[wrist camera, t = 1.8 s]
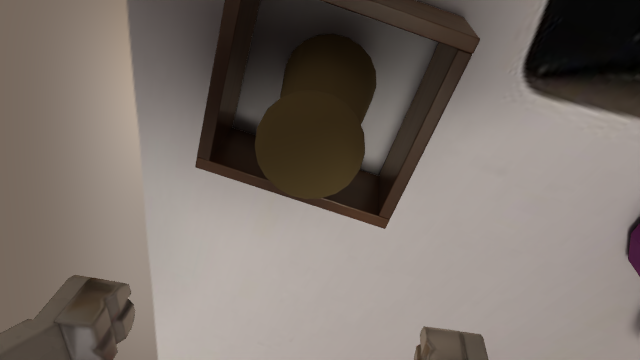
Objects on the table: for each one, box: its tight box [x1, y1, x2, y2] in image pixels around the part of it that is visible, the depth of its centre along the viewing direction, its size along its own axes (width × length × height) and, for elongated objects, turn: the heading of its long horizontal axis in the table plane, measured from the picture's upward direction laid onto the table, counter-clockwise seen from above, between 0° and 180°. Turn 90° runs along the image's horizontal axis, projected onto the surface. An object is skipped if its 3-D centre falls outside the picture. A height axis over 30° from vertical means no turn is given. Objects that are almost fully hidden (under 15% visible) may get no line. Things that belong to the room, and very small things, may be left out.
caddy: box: [196, 0, 480, 229], centre depth 27 cm, size 13×13×5 cm
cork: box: [255, 34, 376, 199], centre depth 24 cm, size 6×6×11 cm
